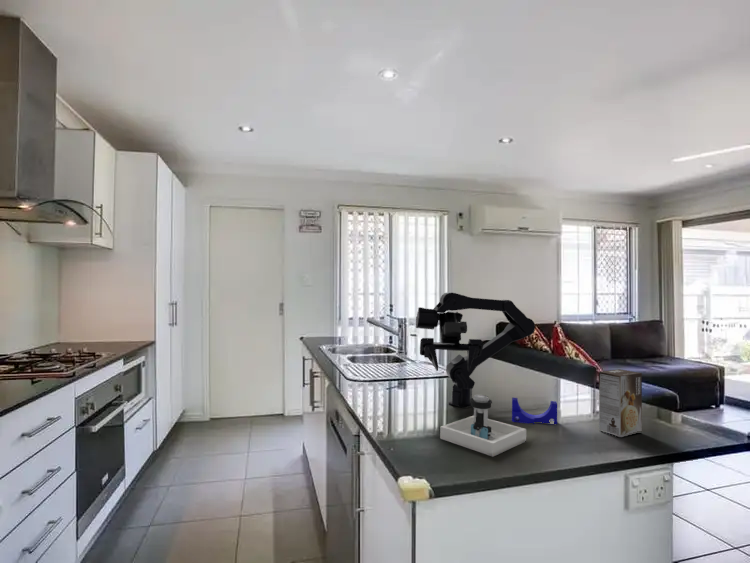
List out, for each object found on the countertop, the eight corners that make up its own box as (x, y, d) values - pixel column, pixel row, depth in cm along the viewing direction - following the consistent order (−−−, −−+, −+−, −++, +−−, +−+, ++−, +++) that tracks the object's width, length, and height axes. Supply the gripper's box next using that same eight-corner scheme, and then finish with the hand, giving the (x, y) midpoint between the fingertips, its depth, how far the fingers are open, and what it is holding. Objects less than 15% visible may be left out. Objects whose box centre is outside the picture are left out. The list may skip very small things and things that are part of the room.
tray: (474, 426, 117) (474, 415, 117) (526, 441, 106) (526, 429, 106) (440, 438, 107) (440, 426, 107) (492, 456, 96) (493, 443, 96)
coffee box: (619, 426, 119) (619, 368, 119) (642, 433, 113) (643, 372, 113) (597, 431, 115) (598, 371, 115) (621, 438, 109) (621, 375, 109)
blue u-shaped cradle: (511, 422, 122) (512, 401, 122) (511, 417, 126) (512, 397, 126) (557, 427, 118) (557, 405, 118) (555, 422, 122) (556, 401, 122)
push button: (500, 438, 106) (501, 397, 106) (488, 443, 102) (488, 401, 102) (477, 431, 111) (478, 392, 111) (465, 435, 107) (465, 395, 107)
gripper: (421, 311, 131) (422, 353, 120) (482, 312, 130) (490, 354, 119) (419, 334, 139) (420, 375, 128) (476, 335, 138) (483, 377, 127)
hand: (453, 370), depth 125 cm, fingers open, 9 cm apart
